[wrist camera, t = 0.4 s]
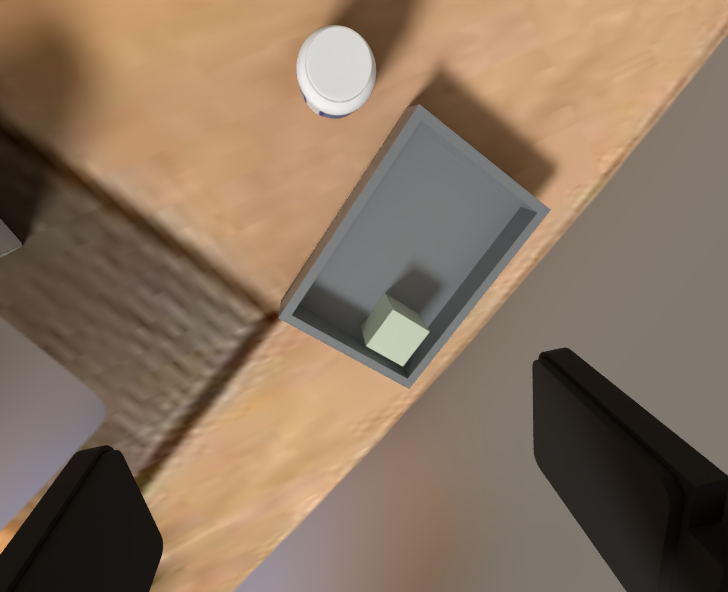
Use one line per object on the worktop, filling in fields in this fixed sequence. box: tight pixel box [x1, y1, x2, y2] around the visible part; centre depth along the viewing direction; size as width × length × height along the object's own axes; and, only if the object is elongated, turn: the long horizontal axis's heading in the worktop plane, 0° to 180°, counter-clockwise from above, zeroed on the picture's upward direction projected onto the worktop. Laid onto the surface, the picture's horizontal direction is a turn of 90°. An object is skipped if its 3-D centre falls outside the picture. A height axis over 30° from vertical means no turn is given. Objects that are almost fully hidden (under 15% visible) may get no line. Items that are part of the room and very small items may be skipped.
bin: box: [278, 104, 550, 389], centre depth 37 cm, size 20×14×4 cm
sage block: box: [361, 293, 430, 366], centre depth 38 cm, size 4×4×4 cm
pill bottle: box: [296, 25, 376, 119], centre depth 29 cm, size 5×5×9 cm
